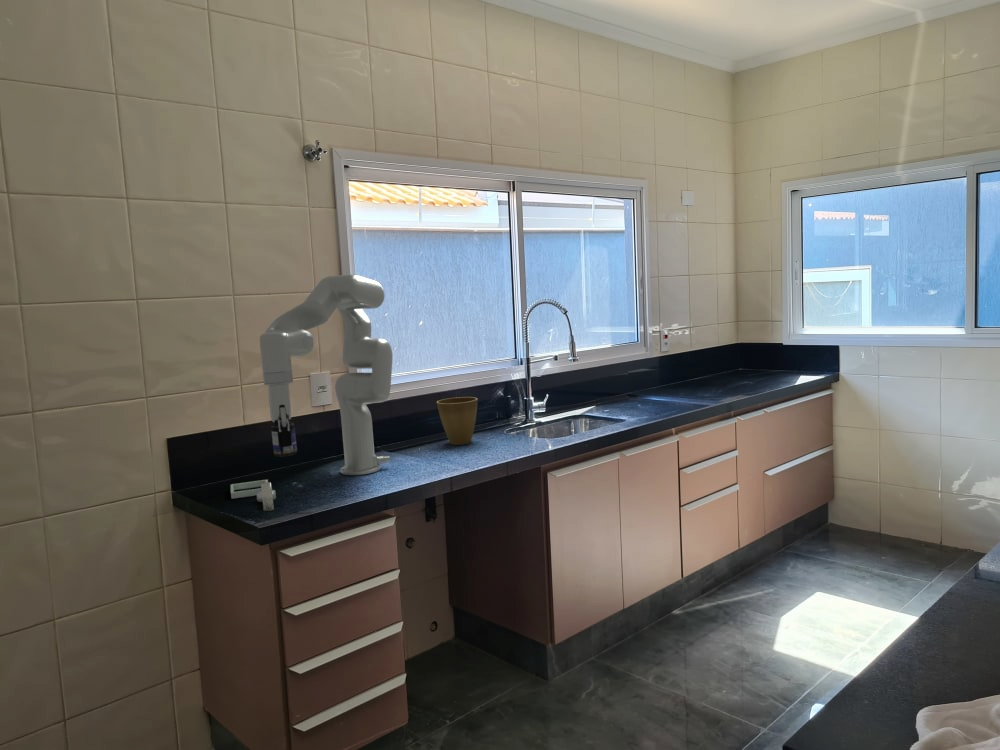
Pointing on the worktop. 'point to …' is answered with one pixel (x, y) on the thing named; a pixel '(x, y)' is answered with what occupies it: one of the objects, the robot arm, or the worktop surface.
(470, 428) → the plant pot
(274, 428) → the pill bottle
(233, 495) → the pale green square frame
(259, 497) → the crank
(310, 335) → the robot arm
